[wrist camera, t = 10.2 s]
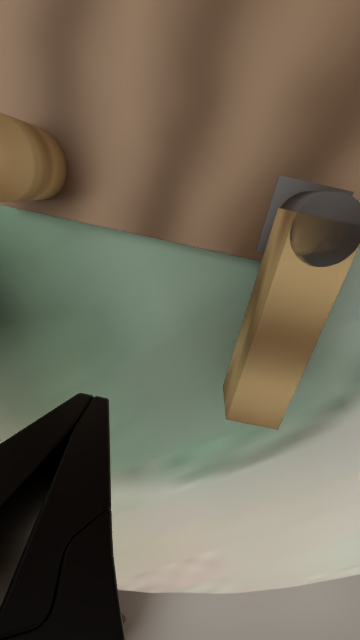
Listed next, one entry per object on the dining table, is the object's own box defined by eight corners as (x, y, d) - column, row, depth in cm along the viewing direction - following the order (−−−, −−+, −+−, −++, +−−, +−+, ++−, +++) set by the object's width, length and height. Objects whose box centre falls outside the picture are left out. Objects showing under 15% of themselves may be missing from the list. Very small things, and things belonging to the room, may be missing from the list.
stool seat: (13, 201, 19) (-57, 206, 14) (-9, -297, 11) (-183, -699, 6) (315, 266, 19) (355, 295, 14) (492, -173, 11) (720, -457, 6)
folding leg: (285, 185, 15) (305, 184, 12) (345, 198, 15) (379, 200, 12) (223, 386, 20) (226, 419, 17) (267, 395, 20) (278, 429, 18)
